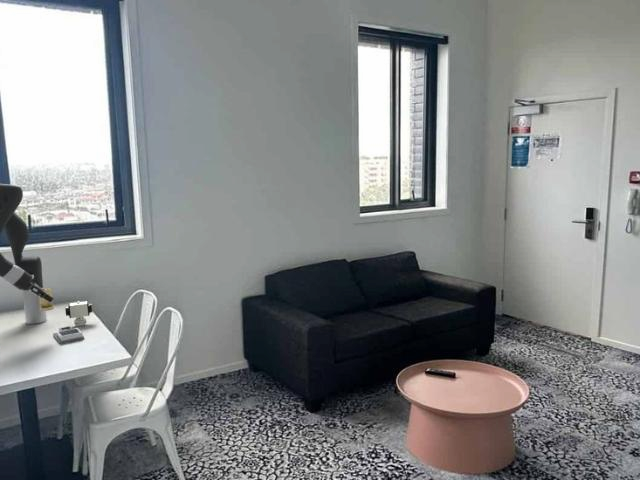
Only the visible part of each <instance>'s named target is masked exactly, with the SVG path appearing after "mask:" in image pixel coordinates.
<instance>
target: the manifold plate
mask: <svg viewBox="0 0 640 480" xmlns="http://www.w3.org/2000/svg"><path fill="white" fill-rule="evenodd" d="M52 336H53V337H54V338H55V340H56V342H57V343H59V345H62V344H68V343H73V342H77V341H82V340H85V336H84V335H83V332H82V331H81V330H80V328H78V327H75V328H72V326H70V325H69V326H64V327H59V328H58V331H56V332H54V333H52Z"/></svg>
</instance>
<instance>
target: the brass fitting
mask: <svg viewBox="0 0 640 480" xmlns="http://www.w3.org/2000/svg"><path fill="white" fill-rule="evenodd" d="M43 291H44V292H46V293H47V294H48V295H49V296H51V297H52V298H53V295H52V288H49V287H45V288H43ZM41 294H42V292H41V293H40V295H41ZM40 306H41V307H40V310H41V311H46V312H47V311H51V310H54V309H55V308H54V304H53V300H52V301H51V302H49V301H47V300H46V299H44V298H41V297H40Z"/></svg>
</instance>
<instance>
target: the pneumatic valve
mask: <svg viewBox="0 0 640 480" xmlns="http://www.w3.org/2000/svg"><path fill="white" fill-rule="evenodd" d="M64 308H65V309H64V310H65V315H66V317H67V316H68V318H69V319H74V318H75V319H74V320H73V323H74V325H75V326H76V327H82V326H83V327H84V326H85V325H86V324H87V319H86V318H85V317H89V316H90V314H91V313H93V304H92V303H90V302H89V301H79V300H78V301H76V302H71V303H68V305H67V306H65V307H64Z"/></svg>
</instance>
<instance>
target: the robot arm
mask: <svg viewBox="0 0 640 480" xmlns="http://www.w3.org/2000/svg"><path fill="white" fill-rule="evenodd" d="M23 196H24V193H23V189H22V187H21V186H20V185H17V184H8V183H7V184H6V183H0V237H1V236H2V234H3V231H5V232H4V233H5V235H6V237H7V240H8V243H9V246H10V249H11V252H12V256H13V261H14V263H13V262H11V261H10V260H8V259H6V258H5V256H4V255H3V254H2V253H1V252H0V277H1V278H2V279H3V280H5V281H6V283H7V282H8V283H9V284H10V285H12V286H13V287H15V288H16V289H18V290H20V291H22V297H23V308H24V316H25V317H24V318H25V324H27V325H35V324H40V323H45V322H46V321H47V313H46V312H47V311H41V310H40V307H41V306H40V297H41V298H44V299H46V300H47V301H49V302H51V301H52V302H53V301H54V297H53V296H52V297H51V296H49V295H48V294H47V293H46V292H44V291H43V289H44V283H43V281H44V280H43V268H42V267H43V266H42V259H41V257H40V256H37V255H36V256H33V255H32V256H23V251H24V249H25V247H26V245H27V244H28V242H29V240H30V232H29V228H28V225H27V223H26V222H25V220H23V218H21V217H20V216H19V215H18V214H17V213H16V212H15V211H16V210H17V209H18V207H19V206H20V204H21V202H22V201H23ZM41 292H42V294H41V295H40V293H41Z"/></svg>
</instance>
